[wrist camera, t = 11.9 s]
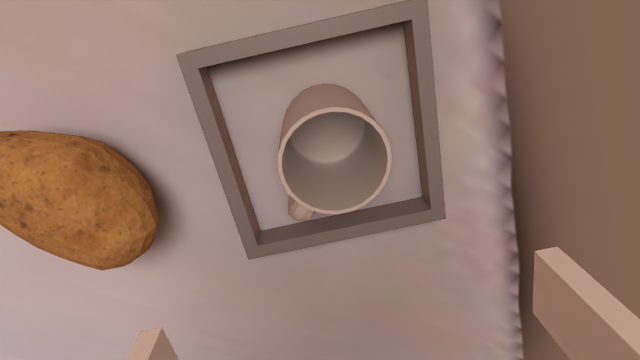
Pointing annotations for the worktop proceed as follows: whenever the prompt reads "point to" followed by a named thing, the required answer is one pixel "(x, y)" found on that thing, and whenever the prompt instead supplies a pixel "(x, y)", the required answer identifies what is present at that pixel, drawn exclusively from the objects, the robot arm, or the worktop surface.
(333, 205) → the cup
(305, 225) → the tray
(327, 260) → the worktop surface
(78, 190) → the potato
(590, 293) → the robot arm
